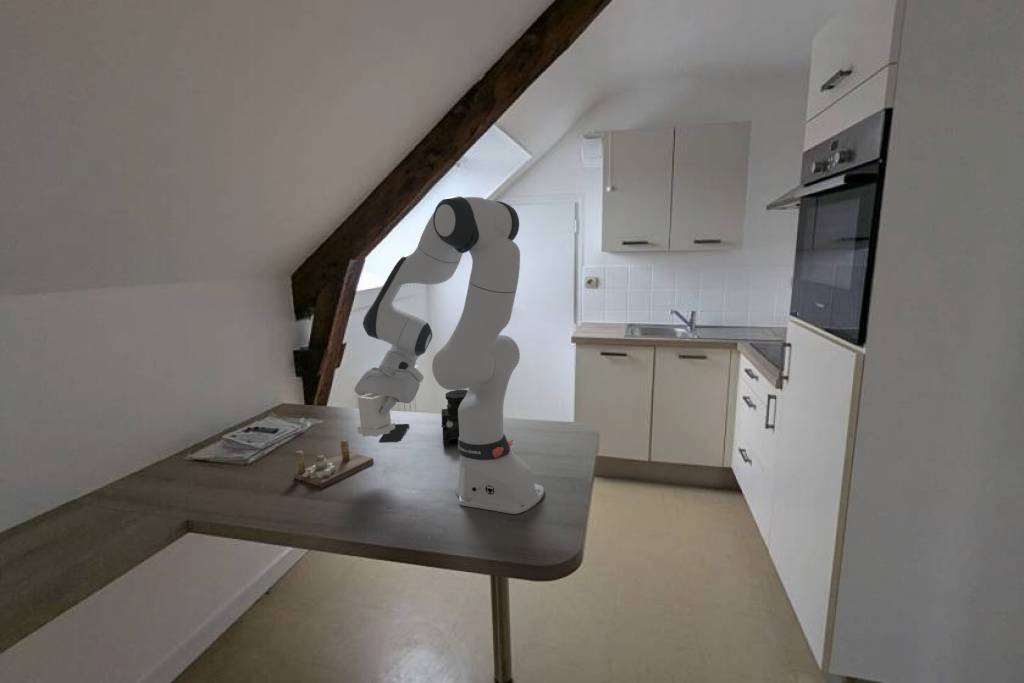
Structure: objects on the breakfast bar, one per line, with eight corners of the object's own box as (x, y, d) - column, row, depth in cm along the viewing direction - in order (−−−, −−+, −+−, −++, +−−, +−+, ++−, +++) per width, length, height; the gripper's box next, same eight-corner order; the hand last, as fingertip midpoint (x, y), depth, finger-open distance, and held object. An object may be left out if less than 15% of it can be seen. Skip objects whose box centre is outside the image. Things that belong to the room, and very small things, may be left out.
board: (373, 463, 145) (371, 438, 143) (322, 488, 130) (319, 461, 129) (346, 455, 151) (343, 432, 150) (294, 478, 137) (291, 452, 135)
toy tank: (478, 427, 172) (476, 385, 169) (482, 447, 154) (479, 401, 151) (443, 430, 170) (440, 388, 168) (442, 450, 152) (439, 404, 150)
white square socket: (402, 427, 137) (399, 392, 135) (375, 439, 129) (371, 402, 127) (377, 423, 142) (374, 389, 141) (350, 434, 134) (345, 398, 132)
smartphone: (377, 441, 161) (389, 424, 175) (378, 445, 161) (389, 427, 176) (400, 441, 161) (410, 423, 175) (400, 444, 161) (410, 426, 175)
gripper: (363, 361, 144) (340, 402, 137) (415, 365, 133) (392, 410, 127) (376, 372, 148) (354, 413, 142) (428, 377, 137) (406, 422, 131)
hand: (373, 412), depth 134 cm, fingers closed on white square socket, 6 cm apart
